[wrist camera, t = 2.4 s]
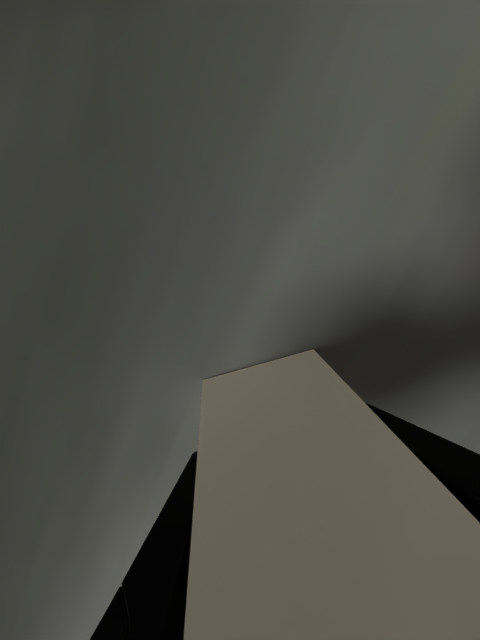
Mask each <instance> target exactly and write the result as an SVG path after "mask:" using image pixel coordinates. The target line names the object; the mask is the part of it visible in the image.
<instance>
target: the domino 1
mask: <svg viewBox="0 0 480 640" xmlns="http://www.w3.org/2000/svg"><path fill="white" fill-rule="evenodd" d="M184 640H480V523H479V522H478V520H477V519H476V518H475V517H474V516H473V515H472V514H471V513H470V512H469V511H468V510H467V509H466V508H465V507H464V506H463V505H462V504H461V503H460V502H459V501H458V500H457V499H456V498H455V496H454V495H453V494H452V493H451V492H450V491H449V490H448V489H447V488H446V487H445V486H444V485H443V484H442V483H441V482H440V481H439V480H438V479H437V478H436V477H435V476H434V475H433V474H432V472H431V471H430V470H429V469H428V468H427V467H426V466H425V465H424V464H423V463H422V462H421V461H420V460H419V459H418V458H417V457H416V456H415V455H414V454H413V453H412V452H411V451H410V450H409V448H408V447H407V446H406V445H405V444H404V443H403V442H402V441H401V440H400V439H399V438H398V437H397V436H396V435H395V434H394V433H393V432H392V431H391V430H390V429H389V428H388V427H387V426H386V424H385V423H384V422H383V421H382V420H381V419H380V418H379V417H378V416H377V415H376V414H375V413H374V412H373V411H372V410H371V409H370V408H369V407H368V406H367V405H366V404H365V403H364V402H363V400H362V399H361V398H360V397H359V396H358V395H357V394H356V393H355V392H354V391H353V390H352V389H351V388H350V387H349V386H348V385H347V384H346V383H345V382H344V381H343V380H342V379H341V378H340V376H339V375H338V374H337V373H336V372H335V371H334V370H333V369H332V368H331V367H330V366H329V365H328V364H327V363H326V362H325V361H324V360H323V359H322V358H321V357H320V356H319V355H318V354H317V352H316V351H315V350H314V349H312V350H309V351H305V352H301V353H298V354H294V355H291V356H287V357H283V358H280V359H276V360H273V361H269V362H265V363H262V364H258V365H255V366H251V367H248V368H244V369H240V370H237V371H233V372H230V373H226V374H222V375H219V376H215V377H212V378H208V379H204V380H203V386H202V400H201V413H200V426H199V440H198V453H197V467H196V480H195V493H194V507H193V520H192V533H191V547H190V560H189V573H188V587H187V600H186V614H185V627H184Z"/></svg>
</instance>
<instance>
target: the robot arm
mask: <svg viewBox="0 0 480 640" xmlns="http://www.w3.org/2000/svg"><path fill="white" fill-rule="evenodd" d="M365 404H366V405H367V406H368V407H369V408H370V409H371V410H372V411H373V412H374V413H375V414H376V415H377V416H378V417H379V418H380V419H381V420H382V421H383V422H384V423H385V424H386V426H387V427H388V428H389V429H390V430H391V431H392V432H393V433H394V434H395V435H396V436H397V437H398V438H399V439H400V440H401V441H402V442H403V443H404V444H405V445H406V446H407V447H408V448H409V450H410V451H411V452H412V453H413V454H414V455H415V456H416V457H417V458H418V459H419V460H420V461H421V462H422V463H423V464H424V465H425V466H426V467H427V468H428V469H429V470H430V471H431V472H432V474H433V475H434V476H435V477H436V478H437V479H438V480H439V481H440V482H441V483H442V484H443V485H444V486H445V487H446V488H447V489H448V490H449V491H450V492H451V493H452V494H453V495H454V496H455V498H456V499H457V500H458V501H459V502H460V503H461V504H462V505H463V506H464V507H465V508H466V509H467V510H468V511H469V512H470V513H471V514H472V515H473V516H474V517H475V518H476V519H477V520H478V522H479V523H480V455H479V454H477V453H475V452H473V451H471V450H468V449H466V448H464V447H462V446H460V445H457V444H455V443H453V442H451V441H449V440H446V439H444V438H442V437H440V436H438V435H435V434H433V433H431V432H429V431H427V430H425V429H422V428H420V427H418V426H416V425H414V424H411V423H409V422H407V421H405V420H403V419H400V418H398V417H396V416H394V415H392V414H389V413H387V412H385V411H383V410H381V409H378V408H376V407H374V406H372V405H370V404H367V403H365ZM197 453H198V451H196V452H194V453H193V454H192V456H191V458H190V459H189V461H188V463H187V465H186V467H185V468H184V470H183V472H182V474H181V476H180V478H179V479H178V481H177V483H176V485H175V487H174V489H173V490H172V492H171V494H170V496H169V498H168V499H167V501H166V503H165V505H164V507H163V509H162V510H161V512H160V514H159V516H158V518H157V520H156V521H155V523H154V525H153V527H152V529H151V530H150V532H149V534H148V536H147V538H146V540H145V541H144V543H143V545H142V547H141V549H140V551H139V552H138V554H137V556H136V558H135V560H134V562H133V563H132V565H131V567H130V569H129V571H128V572H127V574H126V576H125V578H124V580H123V582H122V587H119V589H118V590H117V592H116V594H115V596H114V598H113V600H112V601H111V603H110V605H109V607H108V609H107V610H106V612H105V614H104V616H103V617H102V619H101V621H100V623H99V625H98V626H97V628H96V630H95V632H94V633H93V635H92V637H91V639H90V640H184V627H185V614H186V600H187V587H188V573H189V560H190V547H191V533H192V520H193V507H194V493H195V480H196V467H197Z"/></svg>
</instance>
